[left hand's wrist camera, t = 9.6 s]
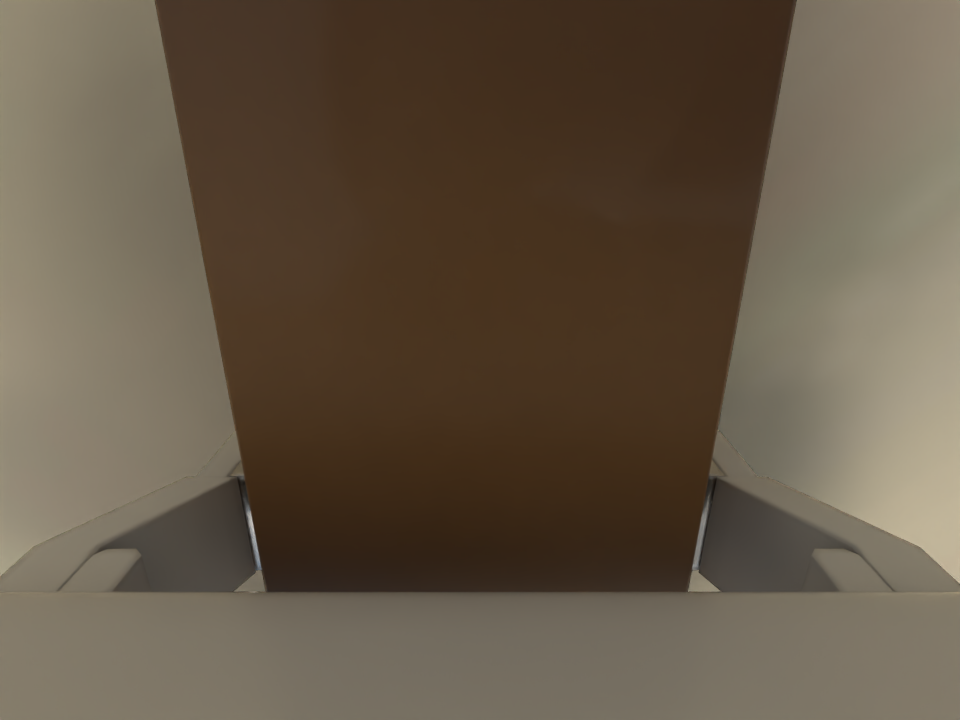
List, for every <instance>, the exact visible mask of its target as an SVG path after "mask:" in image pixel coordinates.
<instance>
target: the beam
mask: <svg viewBox="0 0 960 720" xmlns="http://www.w3.org/2000/svg"><path fill="white" fill-rule="evenodd" d="M796 1H797V0H155V4H156V9H157V15H158V20H159V25H160V31H161V36H162V41H163V47H164V52H165V57H166V63H167V68H168V73H169V79H170V84H171V89H172V95H173V100H174V105H175V111H176V116H177V121H178V127H179V132H180V137H181V143H182V148H183V153H184V159H185V164H186V169H187V175H188V180H189V185H190V191H191V196H192V201H193V207H194V212H195V217H196V223H197V228H198V233H199V239H200V244H201V249H202V255H203V260H204V265H205V271H206V276H207V281H208V287H209V292H210V297H211V303H212V308H213V313H214V319H215V324H216V329H217V335H218V340H219V345H220V351H221V356H222V361H223V367H224V372H225V377H226V383H227V388H228V393H229V399H230V404H231V409H232V415H233V420H234V425H235V431H236V436H237V441H238V447H239V452H240V457H241V463H242V468H243V473H244V479H245V484H246V489H247V495H248V500H249V505H250V511H251V516H252V521H253V527H254V532H255V537H256V543H257V548H258V553H259V559H260V564H261V569H262V575H263V580H264V585H265V591H266V592H688V588H689V583H690V577H691V572H692V566H693V561H694V556H695V550H696V545H697V539H698V534H699V528H700V523H701V517H702V512H703V507H704V501H705V496H706V490H707V485H708V479H709V474H710V469H711V463H712V458H713V452H714V447H715V441H716V436H717V430H718V425H719V420H720V414H721V409H722V403H723V398H724V392H725V387H726V381H727V376H728V371H729V365H730V360H731V354H732V349H733V343H734V338H735V333H736V327H737V322H738V316H739V311H740V305H741V300H742V294H743V289H744V284H745V278H746V273H747V267H748V262H749V256H750V251H751V245H752V240H753V235H754V229H755V224H756V218H757V213H758V207H759V202H760V197H761V191H762V186H763V180H764V175H765V169H766V164H767V158H768V153H769V148H770V142H771V137H772V131H773V126H774V120H775V115H776V110H777V104H778V99H779V93H780V88H781V82H782V77H783V71H784V66H785V61H786V55H787V50H788V44H789V39H790V33H791V28H792V22H793V17H794V12H795V6H796Z"/></svg>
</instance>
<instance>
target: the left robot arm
mask: <svg viewBox="0 0 960 720" xmlns="http://www.w3.org/2000/svg"><path fill="white" fill-rule="evenodd" d="M255 570H262V569H261V564H260V559H259V553H258V548H257V543H256V537H255V532H254V527H253V521H252V516H251V511H250V505H249V500H248V495H247V489H246V484H245V479H244V473H243V468H242V463H241V457H240V452H239V447H238V441H237V436H236V431H234V433H233V434H232V435H231V436H230V437H229V438H228V440H227V441H226V442H225V443H224V444H223V445H222V447H221V448H220V449H219V450H218V451H217V452H216V454H215V455H214V456H213V457H212V458H211V459H210V461H209V462H208V463H207V464H206V465H205V466H204V468H203V469H202V470H201V471H200V472H199V474H198V475H197V476H196V477H185V478H183V479H181V480H179V481H176V482H174V483H172V484H170V485H168V486H165V487H163V488H161V489H159V490H157V491H154V492H152V493H150V494H148V495H146V496H143V497H141V498H139V499H137V500H135V501H132V502H130V503H128V504H126V505H124V506H121V507H119V508H117V509H115V510H113V511H110V512H108V513H106V514H104V515H102V516H99V517H97V518H95V519H93V520H91V521H89V522H86V523H84V524H82V525H80V526H78V527H75V528H73V529H71V530H69V531H67V532H64V533H62V534H60V535H58V536H56V537H53V538H51V539H49V540H47V541H45V542H42V543H40V544H38V545H36V546H34V547H32V548H31V549H30V550H29V551H28V552H27V553H26V554H25V555H24V556H23V557H21V558H20V559H19V560H18V561H17V562H16V563H15V564H14V565H13V566H11V567H10V568H9V569H8V570H7V571H6V572H5V573H4V574H3V575H2V576H0V720H960V584H959V583H958V582H957V581H956V580H955V579H954V578H953V577H952V576H951V575H949V574H948V573H947V572H946V571H945V570H944V569H943V568H942V567H941V566H940V565H939V564H938V563H937V562H935V561H934V560H933V559H932V558H931V557H930V556H929V555H928V554H927V553H926V552H925V551H924V550H922V549H921V548H920V547H918V546H916V545H914V544H912V543H910V542H907V541H905V540H903V539H901V538H899V537H897V536H894V535H892V534H890V533H888V532H886V531H884V530H881V529H879V528H877V527H875V526H873V525H871V524H868V523H866V522H864V521H862V520H860V519H858V518H855V517H853V516H851V515H849V514H847V513H845V512H842V511H840V510H838V509H836V508H834V507H832V506H829V505H827V504H825V503H823V502H821V501H819V500H816V499H814V498H812V497H810V496H808V495H806V494H803V493H801V492H799V491H797V490H795V489H793V488H790V487H788V486H786V485H784V484H782V483H780V482H777V481H775V480H773V479H771V478H769V477H758V476H757V475H756V474H755V472H754V471H753V470H752V469H751V468H750V466H749V465H748V464H747V463H746V462H745V460H744V459H743V458H742V457H741V456H740V454H739V453H738V452H737V451H736V450H735V449H734V447H733V446H732V445H731V444H730V443H729V441H728V440H727V439H726V438H725V437H724V435H723V434H722V433H721V432H720V431H719V430H717V436H716V441H715V447H714V452H713V458H712V463H711V469H710V474H709V479H708V485H707V490H706V496H705V501H704V507H703V512H702V517H701V523H700V528H699V534H698V539H697V545H696V550H695V556H694V561H693V566H692V570H699V573H700V574H701V575H703V576H704V577H705V578H706V579H707V580H708V581H710V582H711V583H712V584H713V585H714V586H715V587H717V588H718V589H719V590H720V591H721V592H233V591H234V590H235V589H237V588H238V587H239V586H240V585H241V584H243V583H244V582H245V581H246V580H247V579H248V578H250V577H251V576H252V575H253V574H254V573H255Z"/></svg>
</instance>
